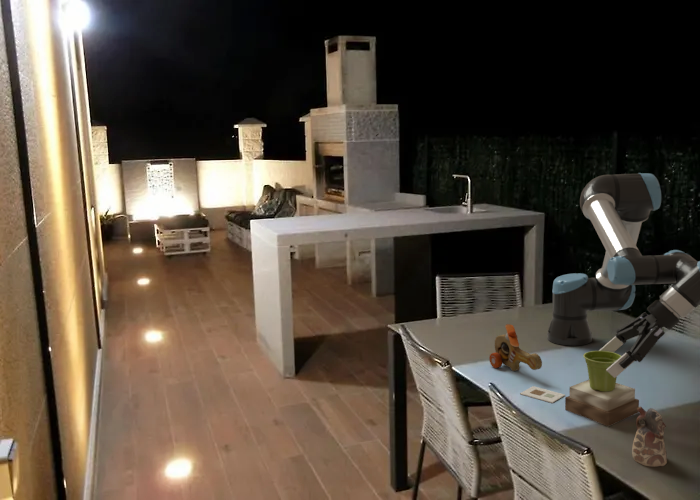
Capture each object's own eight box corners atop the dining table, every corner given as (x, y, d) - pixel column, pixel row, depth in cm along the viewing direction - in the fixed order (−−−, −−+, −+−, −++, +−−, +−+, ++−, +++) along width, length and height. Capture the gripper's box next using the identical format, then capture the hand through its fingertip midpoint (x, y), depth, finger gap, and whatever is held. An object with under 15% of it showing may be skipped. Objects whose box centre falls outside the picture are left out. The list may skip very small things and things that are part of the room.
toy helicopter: (507, 360, 211) (506, 320, 209) (551, 379, 193) (551, 336, 190) (486, 364, 208) (486, 323, 206) (529, 385, 189) (529, 340, 187)
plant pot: (577, 382, 172) (577, 351, 171) (610, 379, 173) (611, 349, 172) (593, 396, 163) (593, 363, 162) (628, 393, 164) (629, 360, 163)
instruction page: (520, 394, 183) (520, 392, 183) (533, 387, 188) (533, 385, 188) (552, 403, 176) (552, 401, 176) (564, 395, 180) (564, 394, 180)
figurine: (661, 470, 139) (662, 418, 137) (627, 460, 143) (628, 410, 141) (671, 457, 144) (672, 407, 142) (638, 448, 148) (639, 399, 147)
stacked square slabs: (565, 409, 171) (565, 386, 170) (595, 397, 178) (595, 375, 177) (608, 426, 160) (608, 401, 159) (638, 412, 167) (639, 388, 166)
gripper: (696, 334, 149) (626, 393, 155) (667, 306, 173) (607, 358, 179) (672, 311, 149) (603, 371, 155) (646, 287, 173) (587, 340, 179)
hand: (605, 364), depth 167 cm, fingers open, 13 cm apart
